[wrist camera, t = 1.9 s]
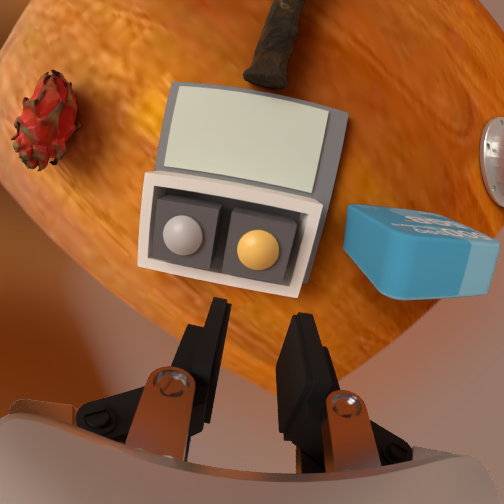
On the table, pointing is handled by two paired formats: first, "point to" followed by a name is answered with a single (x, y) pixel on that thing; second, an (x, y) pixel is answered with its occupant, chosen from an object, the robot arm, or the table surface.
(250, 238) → the tagged breaker
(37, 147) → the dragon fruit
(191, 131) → the board
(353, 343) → the table surface
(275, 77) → the hand tool
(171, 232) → the grey square block
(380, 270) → the data package
